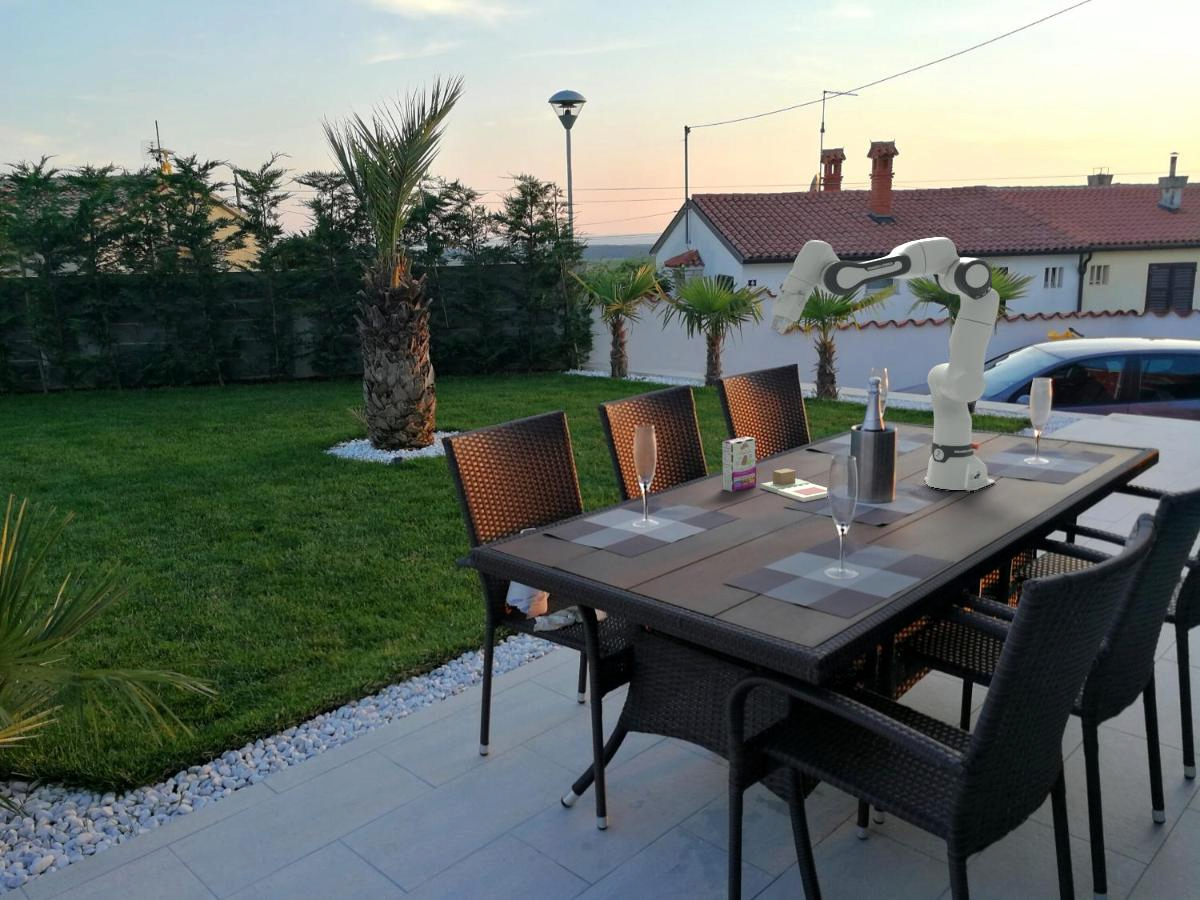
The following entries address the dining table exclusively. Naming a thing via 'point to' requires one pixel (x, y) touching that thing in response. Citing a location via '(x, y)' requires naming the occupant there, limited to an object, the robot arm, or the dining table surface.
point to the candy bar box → (739, 463)
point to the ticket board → (804, 492)
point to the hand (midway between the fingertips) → (776, 331)
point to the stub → (782, 480)
